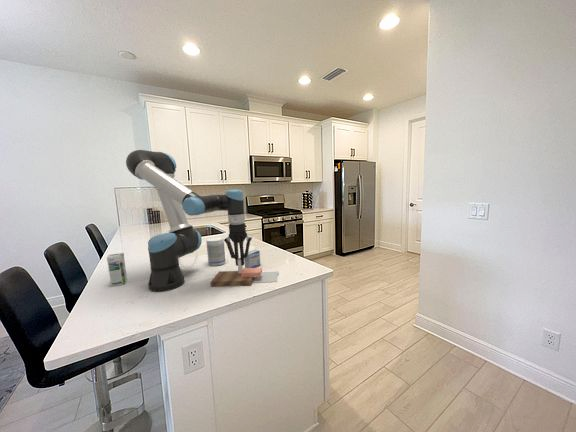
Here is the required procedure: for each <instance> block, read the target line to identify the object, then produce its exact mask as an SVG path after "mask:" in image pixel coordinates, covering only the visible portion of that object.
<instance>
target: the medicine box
mask: <svg viewBox="0 0 576 432" xmlns="http://www.w3.org/2000/svg"><path fill="white" fill-rule="evenodd" d="M244 255H245V252H244ZM259 266H261V253H260V250H259V249H254V250H253V249H252V250H250V251H248V256H247V257H246V258H244V268H259Z"/></svg>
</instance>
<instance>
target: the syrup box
mask: <svg viewBox="0 0 576 432" xmlns="http://www.w3.org/2000/svg"><path fill="white" fill-rule="evenodd" d="M106 260H107V266H108V267H107V268H108V273H109V281H110V286H111V287H115V286H116V287H118V286H122V285H126V283H127V281H128V275H127V269H126V268H127V266H126V261H125V254H124V252H118V253H110V254H108V255H107V257H106Z"/></svg>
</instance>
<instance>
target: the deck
mask: <svg viewBox="0 0 576 432" xmlns="http://www.w3.org/2000/svg"><path fill="white" fill-rule="evenodd" d="M254 278H255V277H241V273H239V272H238V270H226V271H225V270H224V271H222V270H220V271H218V272H217V273H216V274H215V276H214V277H213V278H212V279H211V281H210V287H211V288H212V287H215V288H220V287H223V288H224V287H246V286H247V287H248V286H250V287H251V286H252V284H253V281H254Z"/></svg>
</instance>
